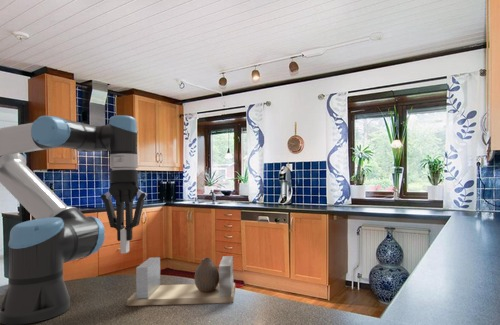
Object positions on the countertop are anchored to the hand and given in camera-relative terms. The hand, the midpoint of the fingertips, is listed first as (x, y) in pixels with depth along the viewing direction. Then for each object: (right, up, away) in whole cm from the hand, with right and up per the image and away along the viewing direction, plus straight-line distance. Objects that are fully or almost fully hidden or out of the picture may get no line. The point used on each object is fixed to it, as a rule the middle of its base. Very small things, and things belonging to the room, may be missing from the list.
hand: (125, 252), depth 93 cm
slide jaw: (+7, -11, -1) cm, 13 cm away
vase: (+23, -11, -1) cm, 26 cm away
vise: (+17, -12, -1) cm, 21 cm away
